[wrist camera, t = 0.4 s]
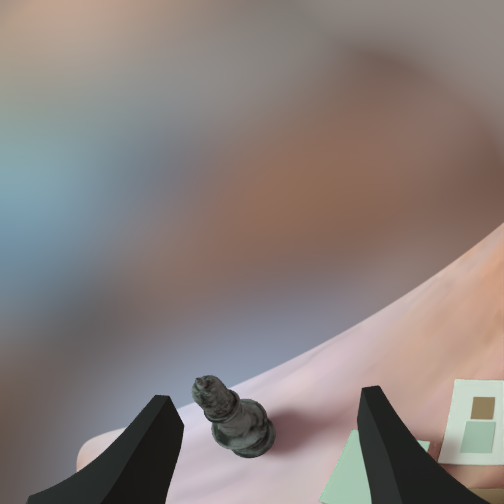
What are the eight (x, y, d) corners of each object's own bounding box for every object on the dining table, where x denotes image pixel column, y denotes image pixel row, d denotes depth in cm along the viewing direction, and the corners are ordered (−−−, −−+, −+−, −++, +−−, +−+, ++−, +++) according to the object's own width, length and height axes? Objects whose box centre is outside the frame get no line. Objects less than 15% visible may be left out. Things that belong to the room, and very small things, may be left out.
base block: (398, 523, 15) (401, 520, 14) (326, 506, 20) (318, 500, 18) (425, 454, 20) (430, 441, 18) (356, 443, 24) (352, 429, 22)
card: (504, 465, 14) (506, 464, 14) (437, 463, 18) (437, 462, 18) (513, 382, 20) (514, 379, 20) (454, 381, 24) (455, 378, 24)
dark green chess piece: (281, 412, 30) (237, 347, 24) (274, 461, 25) (220, 410, 19) (232, 413, 32) (177, 351, 26) (221, 458, 27) (155, 407, 21)
